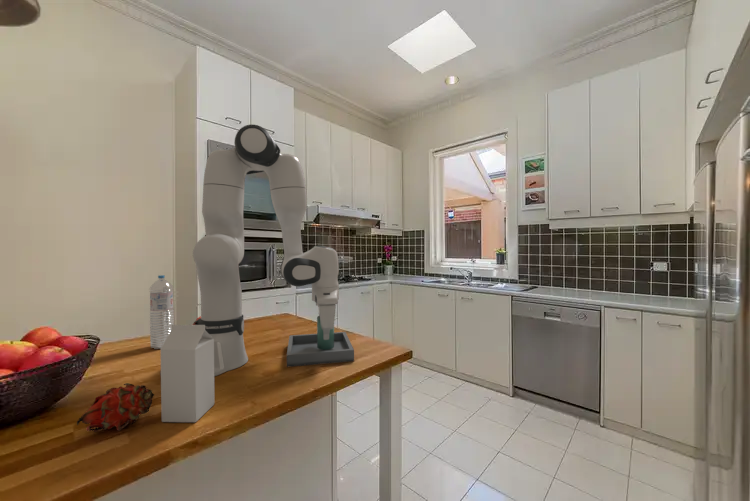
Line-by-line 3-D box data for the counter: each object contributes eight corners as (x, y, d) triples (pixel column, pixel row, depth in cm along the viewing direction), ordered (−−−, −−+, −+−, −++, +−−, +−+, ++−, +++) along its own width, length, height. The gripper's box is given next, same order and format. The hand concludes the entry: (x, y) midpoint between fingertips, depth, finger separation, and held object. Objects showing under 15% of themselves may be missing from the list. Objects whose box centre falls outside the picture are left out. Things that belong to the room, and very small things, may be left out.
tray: (286, 367, 91) (286, 355, 91) (289, 345, 110) (289, 335, 110) (354, 361, 95) (354, 349, 95) (345, 341, 115) (345, 331, 115)
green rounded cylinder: (317, 350, 100) (317, 319, 100) (316, 344, 105) (316, 315, 105) (335, 348, 101) (334, 318, 101) (333, 343, 107) (333, 314, 106)
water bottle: (157, 343, 112) (156, 274, 111) (177, 342, 113) (176, 274, 112) (146, 350, 105) (144, 276, 105) (167, 349, 106) (166, 276, 105)
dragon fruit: (160, 420, 66) (85, 457, 57) (148, 388, 70) (75, 418, 61) (160, 399, 62) (79, 435, 53) (147, 366, 66) (69, 394, 57)
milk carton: (195, 423, 62) (194, 329, 62) (161, 422, 63) (159, 329, 62) (214, 404, 70) (213, 320, 69) (183, 404, 70) (182, 320, 69)
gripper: (314, 290, 112) (314, 328, 113) (317, 300, 92) (317, 346, 93) (332, 289, 114) (332, 327, 114) (338, 299, 94) (338, 344, 94)
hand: (325, 335), depth 103 cm, fingers closed on green rounded cylinder, 6 cm apart
